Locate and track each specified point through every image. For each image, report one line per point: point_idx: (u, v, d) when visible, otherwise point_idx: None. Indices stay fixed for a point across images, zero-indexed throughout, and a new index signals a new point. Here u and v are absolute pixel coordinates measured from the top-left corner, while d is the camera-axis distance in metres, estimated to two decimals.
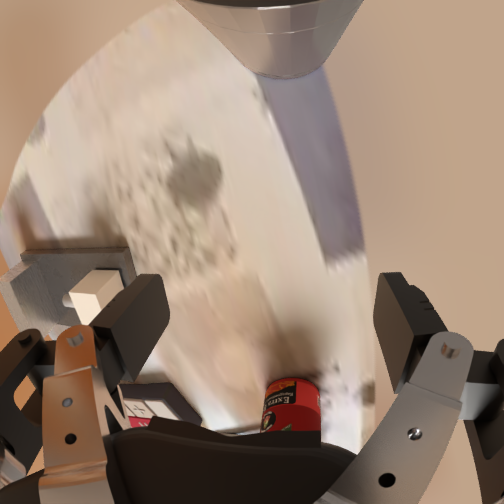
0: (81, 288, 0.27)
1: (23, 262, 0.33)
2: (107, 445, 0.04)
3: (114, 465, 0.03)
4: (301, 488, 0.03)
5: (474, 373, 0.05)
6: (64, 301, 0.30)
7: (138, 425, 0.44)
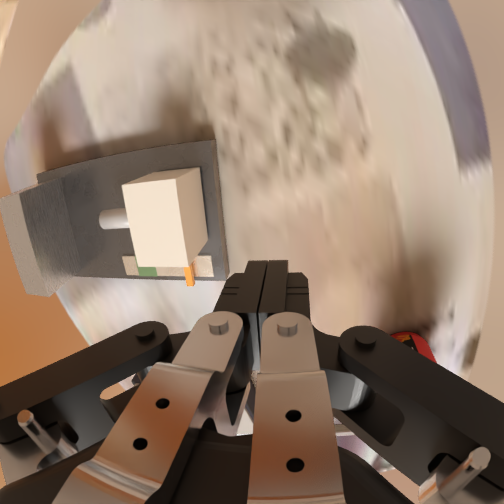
0: (144, 180, 0.18)
1: (40, 183, 0.24)
2: (175, 469, 0.03)
3: (170, 490, 0.03)
4: None
5: None
6: (102, 218, 0.21)
7: None
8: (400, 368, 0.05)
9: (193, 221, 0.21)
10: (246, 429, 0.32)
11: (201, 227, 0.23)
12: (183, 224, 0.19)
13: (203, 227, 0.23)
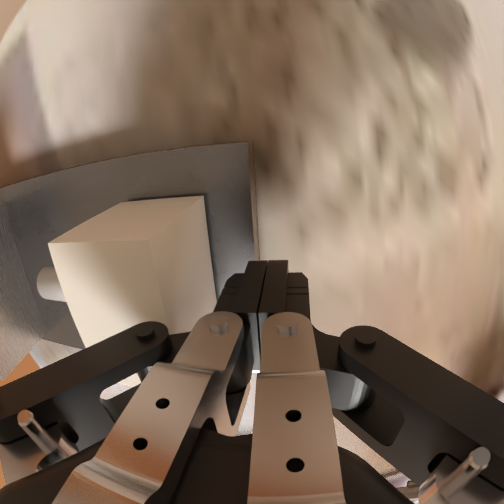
0: (91, 231, 0.08)
1: None
2: (175, 468, 0.03)
3: (170, 490, 0.03)
4: None
5: None
6: (41, 284, 0.11)
7: None
8: (400, 368, 0.05)
9: (194, 306, 0.11)
10: None
11: (209, 306, 0.12)
12: (174, 330, 0.09)
13: (211, 304, 0.13)
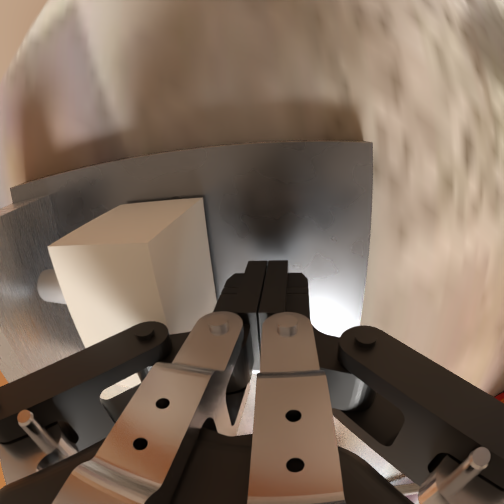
0: (90, 234, 0.08)
1: (15, 203, 0.13)
2: (175, 468, 0.03)
3: (170, 490, 0.03)
4: None
5: None
6: (41, 287, 0.11)
7: None
8: (400, 368, 0.05)
9: (194, 308, 0.11)
10: None
11: (209, 308, 0.12)
12: (174, 332, 0.09)
13: (212, 305, 0.13)
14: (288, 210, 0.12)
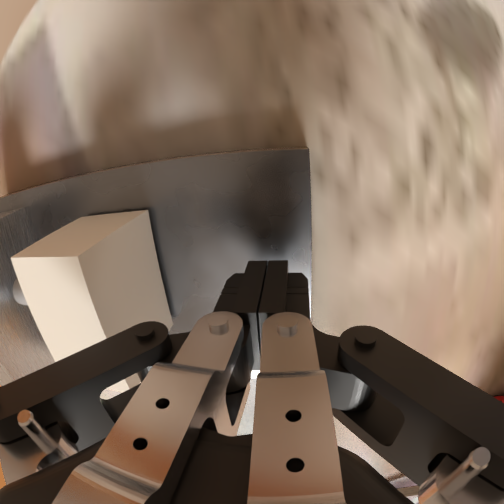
0: (44, 247, 0.09)
1: None
2: (176, 468, 0.03)
3: (169, 490, 0.03)
4: None
5: None
6: (16, 291, 0.11)
7: None
8: (400, 368, 0.05)
9: (137, 313, 0.11)
10: None
11: (157, 313, 0.13)
12: (111, 334, 0.09)
13: (161, 310, 0.13)
14: (227, 220, 0.12)
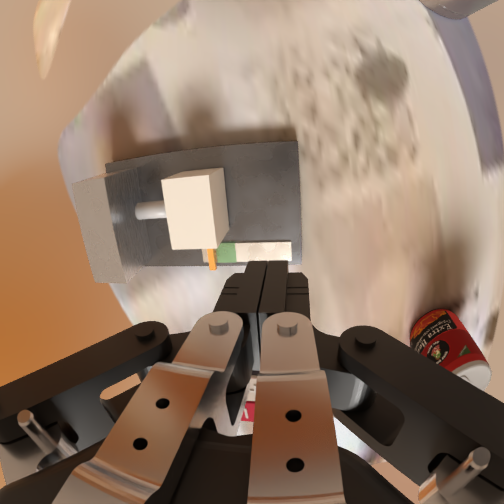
0: (180, 176, 0.23)
1: (111, 172, 0.28)
2: (175, 468, 0.03)
3: (170, 490, 0.03)
4: None
5: None
6: (138, 209, 0.26)
7: None
8: (400, 368, 0.05)
9: (220, 211, 0.25)
10: None
11: (225, 217, 0.27)
12: (213, 212, 0.23)
13: (226, 217, 0.27)
14: (261, 172, 0.26)
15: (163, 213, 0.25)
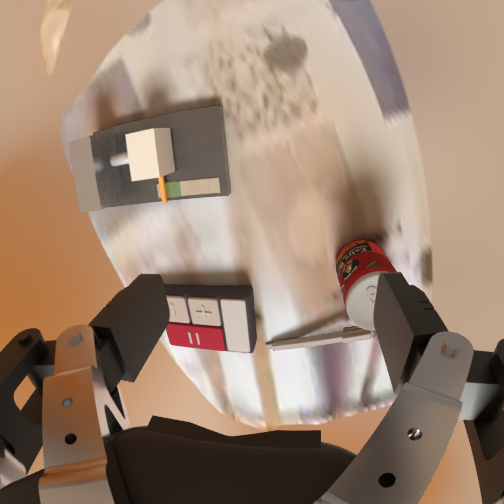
0: None
1: None
2: (107, 445, 0.04)
3: (115, 465, 0.03)
4: (301, 488, 0.03)
5: (474, 373, 0.05)
6: (112, 158, 0.35)
7: (183, 337, 0.47)
8: None
9: (164, 154, 0.34)
10: (241, 346, 0.45)
11: (170, 161, 0.36)
12: (157, 153, 0.32)
13: (171, 162, 0.36)
14: (195, 129, 0.35)
15: (128, 159, 0.34)
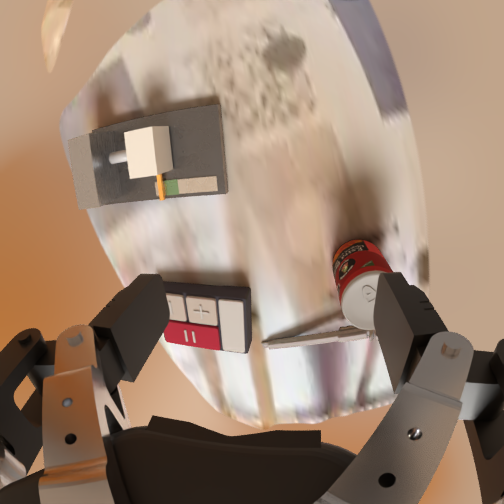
0: None
1: None
2: (107, 445, 0.04)
3: (115, 465, 0.03)
4: (301, 488, 0.03)
5: (474, 373, 0.05)
6: (111, 156, 0.35)
7: (179, 335, 0.47)
8: None
9: (162, 152, 0.34)
10: (236, 346, 0.46)
11: (168, 159, 0.36)
12: (155, 151, 0.32)
13: (169, 160, 0.36)
14: (193, 127, 0.35)
15: (126, 157, 0.34)
